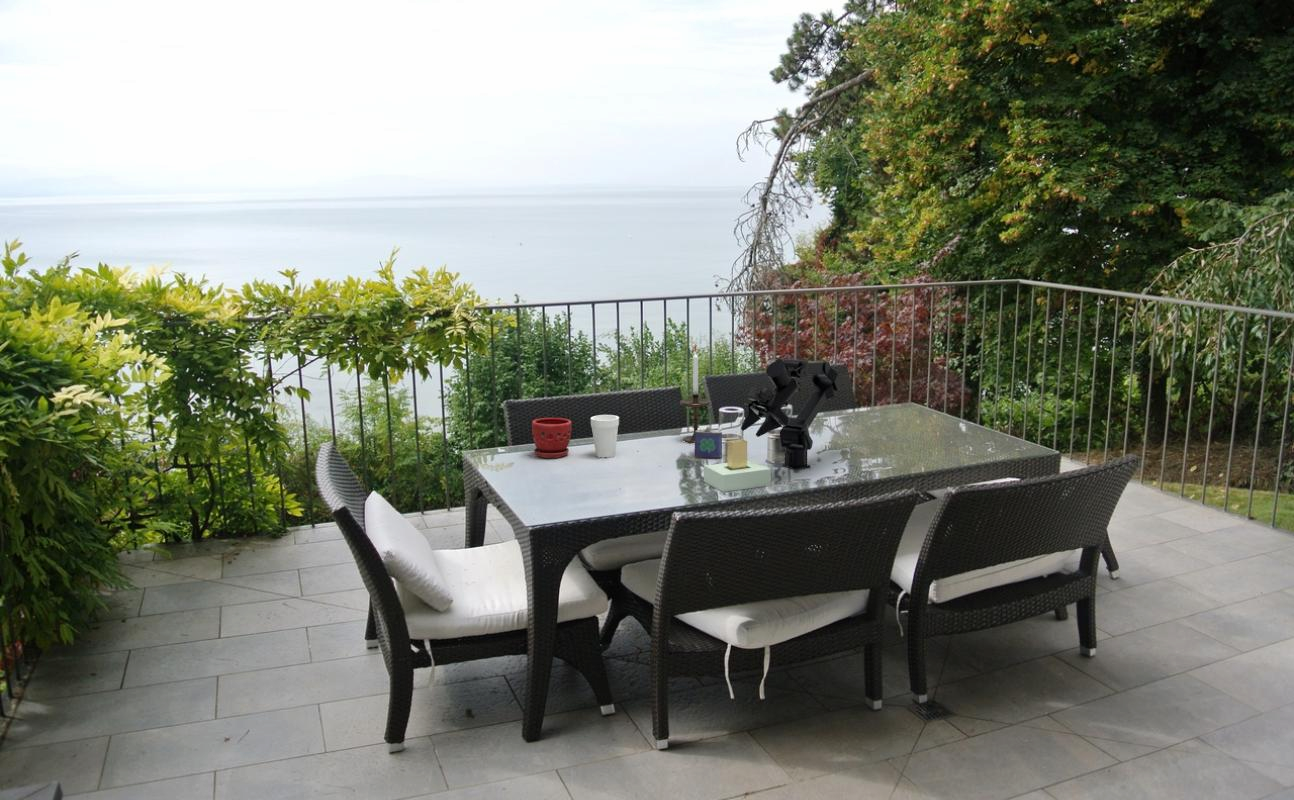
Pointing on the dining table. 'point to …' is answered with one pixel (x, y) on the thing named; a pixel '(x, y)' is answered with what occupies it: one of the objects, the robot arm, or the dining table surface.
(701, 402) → the candlestick
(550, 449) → the plant pot
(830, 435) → the dining table surface
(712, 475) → the coin box
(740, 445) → the tan rectangular block
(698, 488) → the dining table surface
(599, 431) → the foam cup
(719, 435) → the flask
